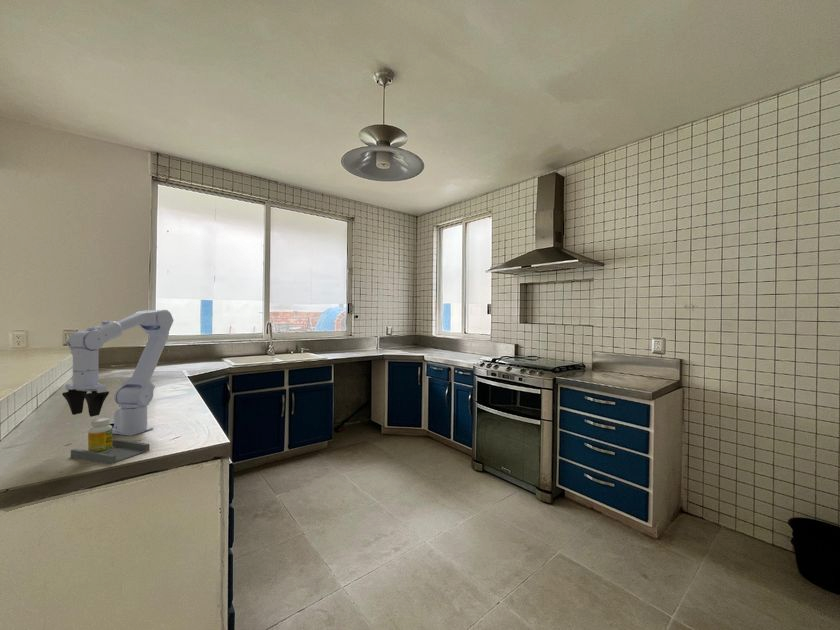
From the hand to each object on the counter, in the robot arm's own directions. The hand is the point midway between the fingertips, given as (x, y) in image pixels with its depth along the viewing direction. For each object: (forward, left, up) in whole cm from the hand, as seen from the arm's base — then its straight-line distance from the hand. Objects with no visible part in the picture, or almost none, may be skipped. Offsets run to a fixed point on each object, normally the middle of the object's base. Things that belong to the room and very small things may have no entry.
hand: (85, 414), depth 106 cm
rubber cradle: (+11, 0, -10) cm, 16 cm away
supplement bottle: (+7, 0, -11) cm, 13 cm away
